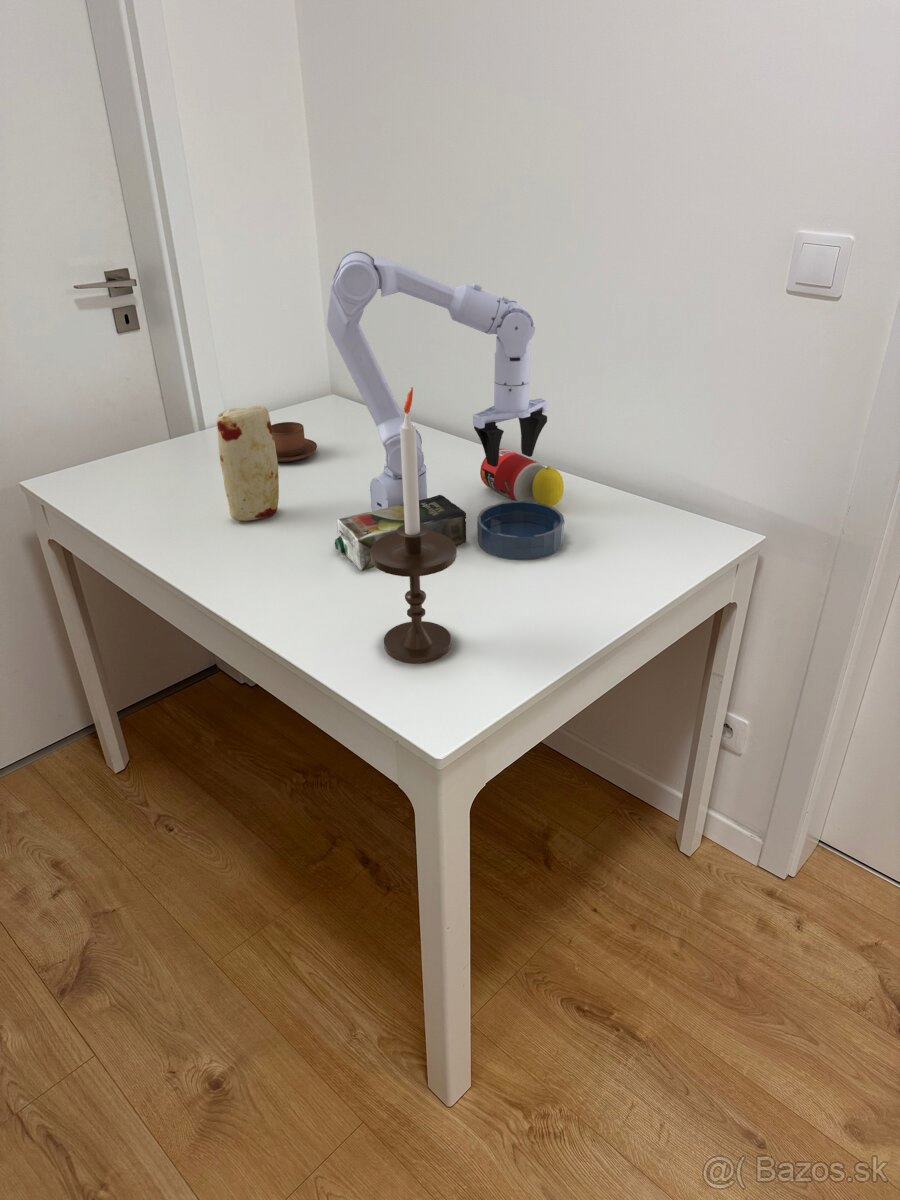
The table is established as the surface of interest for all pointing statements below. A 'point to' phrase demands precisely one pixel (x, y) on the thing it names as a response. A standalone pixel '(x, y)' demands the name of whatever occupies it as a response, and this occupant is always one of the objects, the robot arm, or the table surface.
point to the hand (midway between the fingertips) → (509, 459)
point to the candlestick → (413, 563)
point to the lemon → (548, 486)
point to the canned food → (511, 475)
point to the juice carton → (374, 525)
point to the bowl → (520, 530)
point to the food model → (248, 462)
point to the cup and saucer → (291, 442)
